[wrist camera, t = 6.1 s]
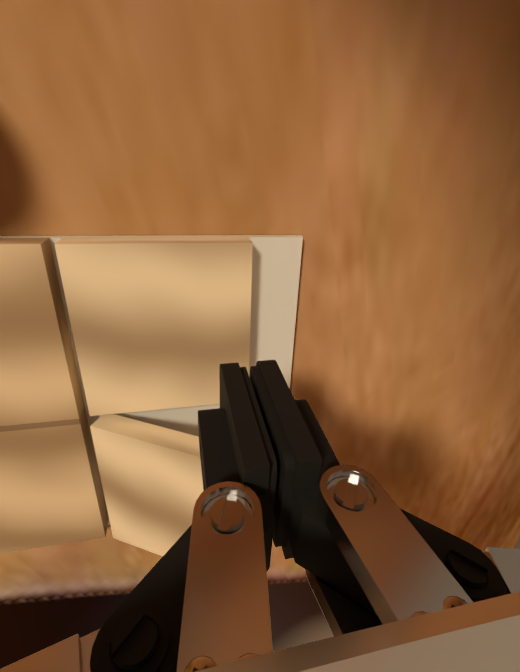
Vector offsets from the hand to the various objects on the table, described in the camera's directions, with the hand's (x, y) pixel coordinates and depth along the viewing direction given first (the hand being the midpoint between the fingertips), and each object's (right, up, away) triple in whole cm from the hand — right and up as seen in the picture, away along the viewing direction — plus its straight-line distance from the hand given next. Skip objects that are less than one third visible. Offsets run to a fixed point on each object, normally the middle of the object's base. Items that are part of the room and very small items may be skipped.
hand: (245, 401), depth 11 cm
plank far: (-4, -7, +9) cm, 12 cm away
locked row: (-13, -2, +7) cm, 15 cm away
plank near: (-4, +3, +7) cm, 9 cm away
